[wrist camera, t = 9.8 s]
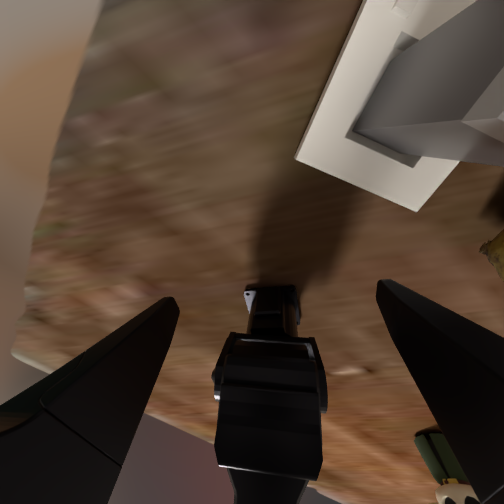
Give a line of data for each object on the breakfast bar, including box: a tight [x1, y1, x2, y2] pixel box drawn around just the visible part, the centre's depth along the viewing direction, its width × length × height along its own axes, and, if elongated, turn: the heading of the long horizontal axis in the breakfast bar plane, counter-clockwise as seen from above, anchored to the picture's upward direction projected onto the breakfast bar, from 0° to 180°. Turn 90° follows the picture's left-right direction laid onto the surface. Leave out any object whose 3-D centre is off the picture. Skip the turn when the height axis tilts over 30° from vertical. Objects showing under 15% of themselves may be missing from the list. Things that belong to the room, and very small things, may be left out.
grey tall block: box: [352, 0, 504, 167], centre depth 10 cm, size 5×5×12 cm
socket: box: [294, 0, 477, 212], centre depth 14 cm, size 11×11×3 cm
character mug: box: [414, 433, 481, 504], centre depth 33 cm, size 11×7×13 cm, turn 132°
